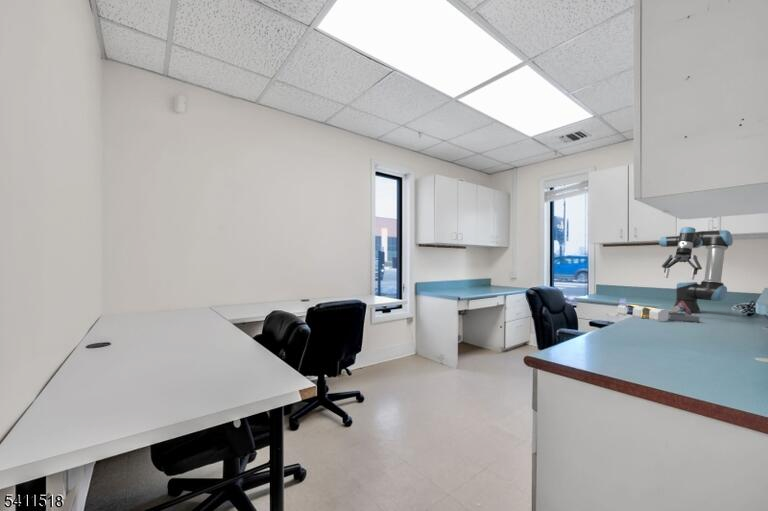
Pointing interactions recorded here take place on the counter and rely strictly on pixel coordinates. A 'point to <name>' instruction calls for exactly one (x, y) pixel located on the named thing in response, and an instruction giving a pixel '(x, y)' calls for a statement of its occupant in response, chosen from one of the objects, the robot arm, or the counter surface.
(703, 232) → the robot arm
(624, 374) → the counter surface
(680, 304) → the brake caliper
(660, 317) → the segmented white rod
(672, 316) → the parts bin
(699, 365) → the counter surface
